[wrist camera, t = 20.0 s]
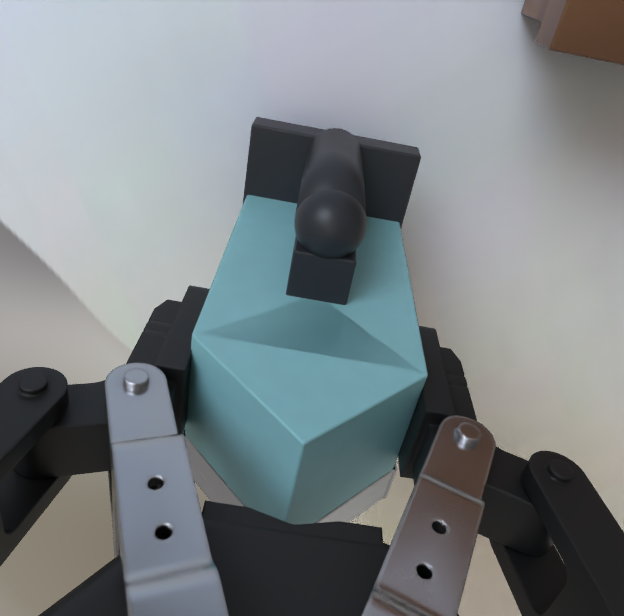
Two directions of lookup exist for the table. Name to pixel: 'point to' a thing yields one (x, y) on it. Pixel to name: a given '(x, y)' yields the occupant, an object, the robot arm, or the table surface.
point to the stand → (580, 27)
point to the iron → (308, 331)
